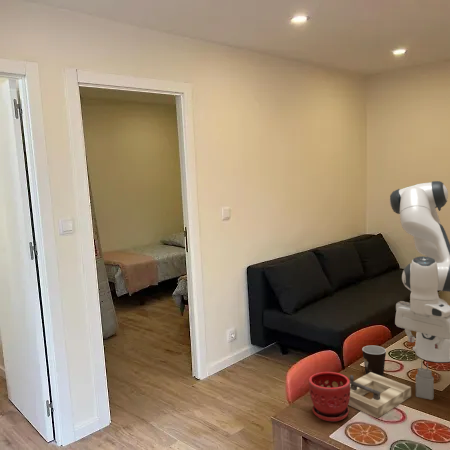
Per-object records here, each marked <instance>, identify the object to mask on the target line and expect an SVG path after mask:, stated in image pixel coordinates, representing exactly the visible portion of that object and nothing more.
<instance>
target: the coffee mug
mask: <svg viewBox="0 0 450 450" xmlns="http://www.w3.org/2000/svg"><path fill="white" fill-rule="evenodd" d="M361 351H362V355H363V364H364V370H365V375H366V374H368V373H370V372H372V373H374V374H377V375H380V376H383V377H384V372H385V364H386V353H387V350H386V348H385V347H382V346H379V345H366V346H363V347H362V349H361Z"/></svg>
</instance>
